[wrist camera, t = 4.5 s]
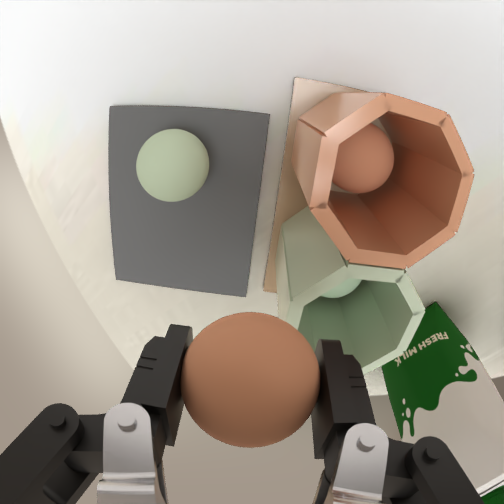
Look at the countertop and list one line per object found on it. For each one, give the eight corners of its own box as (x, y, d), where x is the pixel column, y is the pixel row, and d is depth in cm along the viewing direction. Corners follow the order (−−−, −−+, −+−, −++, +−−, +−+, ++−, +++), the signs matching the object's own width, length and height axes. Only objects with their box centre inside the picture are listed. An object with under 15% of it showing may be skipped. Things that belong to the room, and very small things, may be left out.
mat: (269, 114, 20) (269, 114, 19) (246, 292, 26) (245, 297, 26) (113, 106, 20) (109, 106, 19) (118, 275, 26) (116, 279, 26)
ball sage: (217, 127, 20) (205, 136, 16) (211, 192, 22) (199, 216, 18) (151, 124, 20) (125, 132, 16) (149, 186, 22) (125, 208, 18)
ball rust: (324, 291, 11) (348, 395, 7) (301, 378, 13) (308, 471, 9) (192, 278, 11) (155, 378, 7) (195, 368, 13) (174, 459, 9)
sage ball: (362, 225, 23) (382, 254, 19) (348, 278, 25) (361, 313, 21) (303, 217, 23) (311, 245, 19) (292, 272, 25) (297, 308, 21)
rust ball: (384, 125, 19) (412, 134, 15) (372, 187, 21) (395, 209, 17) (321, 111, 19) (336, 115, 15) (310, 176, 21) (321, 196, 17)
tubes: (410, 104, 19) (493, 119, 10) (361, 296, 26) (394, 382, 18) (294, 77, 19) (319, 63, 10) (263, 287, 26) (262, 378, 18)
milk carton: (393, 381, 32) (437, 543, 14) (361, 337, 28) (415, 544, 11) (459, 341, 29) (532, 493, 11) (440, 288, 26) (547, 475, 8)
